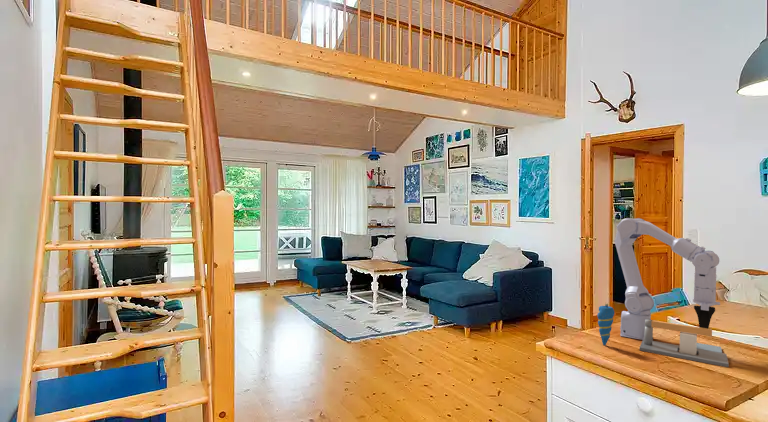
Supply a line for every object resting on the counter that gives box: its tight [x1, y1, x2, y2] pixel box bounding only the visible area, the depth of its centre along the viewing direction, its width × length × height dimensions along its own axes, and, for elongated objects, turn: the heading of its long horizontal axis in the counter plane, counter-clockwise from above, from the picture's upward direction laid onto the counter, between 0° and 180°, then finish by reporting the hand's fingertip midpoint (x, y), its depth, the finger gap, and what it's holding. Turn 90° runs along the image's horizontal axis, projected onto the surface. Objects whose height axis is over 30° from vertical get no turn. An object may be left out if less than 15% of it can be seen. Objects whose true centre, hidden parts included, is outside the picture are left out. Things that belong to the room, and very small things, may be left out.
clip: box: [645, 319, 713, 337], centre depth 139 cm, size 18×2×2 cm, turn 53°
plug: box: [678, 331, 698, 355], centre depth 137 cm, size 4×4×7 cm
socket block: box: [638, 326, 729, 368], centre depth 138 cm, size 23×12×7 cm, turn 53°
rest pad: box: [697, 342, 723, 353], centre depth 144 cm, size 8×8×1 cm
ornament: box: [596, 303, 615, 346], centre depth 144 cm, size 5×5×15 cm
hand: (703, 328), depth 139 cm, fingers closed
